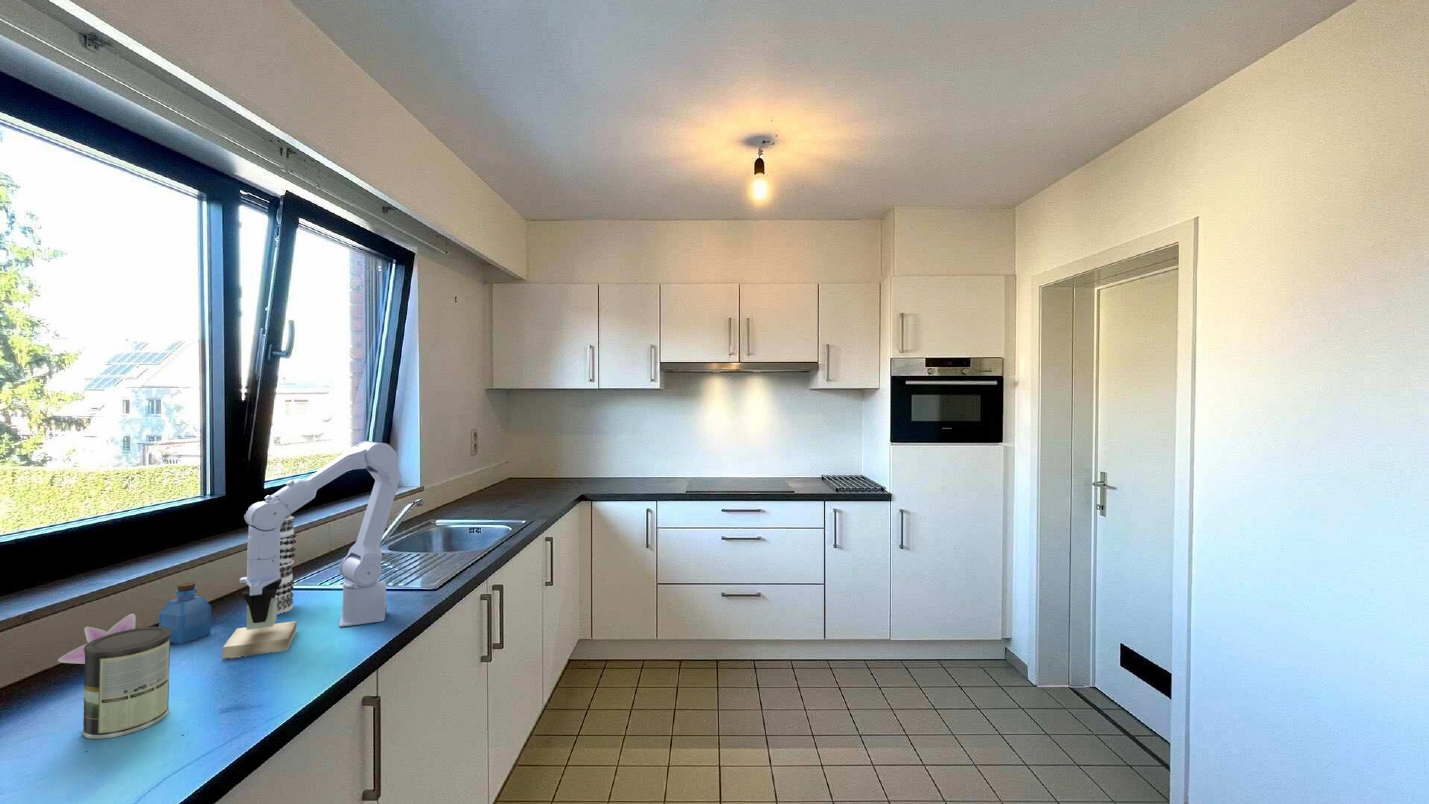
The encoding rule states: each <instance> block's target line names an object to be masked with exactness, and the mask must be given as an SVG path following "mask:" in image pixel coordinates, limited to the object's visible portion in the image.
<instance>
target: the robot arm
mask: <svg viewBox="0 0 1429 804" xmlns="http://www.w3.org/2000/svg"><path fill="white" fill-rule="evenodd" d="M397 460H398V453H397V452H396V451H395V450H394V448H393V447H392V446H391V445H390V444H388V443H385V442H376V441H375V442H374V441H372V440H363V441H361V442H359V443H357V444H356V445H355V446H352V447H350V448H348V449H347V450H345V451H344V452H342V454H340V455H339V456H338V457H336V458H334V459H333V460H332V461H330V462H329V463H328V464H326V465H325V466H322V468H320V469H319V470H318V471H316V472H314V473H313V474H312V475H311V476H309V477H308V478H296V479H294V480H292V479H290V480H288V481H286V482H285V486H283V487H282V488H280V489H279V490H277V491H276V492H274V493H272V494H271V495H269V494H268V495H266V496H265V497H264V500H262V501H257V502H255V503H252V504H251V505H250V506H249V507H248V510H246V513H245V514H244V515H243V518H244V520H245V522H246V524H247V525H248V536H247V546H246V547H247V548H246V549H247V553H246V554H247V556H246V557H247V558H246V576H242V577H240V578H239V583H240V584H241V583H244V584H246V585H247V586H248V587H249V590H243V592H242V598H243V599H244V600H245V602H246V604H247V606H249V609H250V613H251V617H252V620H253V623H260V622H265V621H266V619H267V615H268V610H269V605H270V602H271V599H272V598H275V595H276V592H277V590H278V587H279V585H280V584H281V582H282V579H280V575H281V574H280V573H279V570H280V526H281V525H282V524H283V522H284V520H285V517H286V516H288V515H291V514H293V513H294V512H296V511H297V510H299V509H300V508H302V507H303V506H304V505H306V504H308V503H310V502H311V501H312V500H313V499H315V498H316V495H317V491H318V490H319V489H322V487H324V486H326V485H327V484H329V483H330V482H332V481H334V480H335V479H337V478H339V477H340V476H341V475H344V474H345V473H347V472H348V471H351V470H361V469H362V470H364V469H365V470H367V472H368V473H370V475H371V477H372V478H373V479H374V484H373V487H372V489H371V494H370V497H369V499H368V503H367V506H366V509H365V513H364V516H363V518H362V522H361V526H360V529H359V532H358V535H357V537H356V541H355V543H354V544H353V545H352V546H351V547H350V548H349V550H348V553H347V555H346V556H345V557H344V559H343V560H342V561H341V563H340V565H339V573H340V574H341V576H343V578H344V581H343V584H342V615H341V618H340V620H339V622H338V623H339V624H338V627H339V628H341V627H343V628H344V627H351V626H357V625H358V626H359V625H365V624H372V623H373V624H374V623H380V622H384V621H385V619H386V612H387V611H388V603H386V602H387V601H386V600H387V597H386V596H387V581H384V580H381V581H380V580H379V579H380V577H381V575H382V571H383V570H382V559H383V554H382V553H383V552H382V550H381V544H382V540H383V536H384V535H385V534H384V533H385V529H386V527H387V523H388V520H389V517H390V513H391V510H392V508H393V504H394V500H395V497H396V494H397V490H398V487H399V485H400V482H401V481H400V480H401V473H400V468H399V463H398V461H397Z"/></svg>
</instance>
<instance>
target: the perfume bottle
mask: <svg viewBox="0 0 1429 804" xmlns="http://www.w3.org/2000/svg"><path fill="white" fill-rule="evenodd" d="M196 584H197V582H195V581H189V582H182V583H178V584H177V585H176V587H177V590H176V591H175V596H176V597H177V598H174V599H171V600H168V602H167V603H166V604H165V605H164V606H163V608H162V609H161V611H160V612H159V618H158V620H159V622H158V623H159V624H158V627H166V628H169V629H170V630H171V636H170V642H174V643H173V644H177V643H179V644H178V645H183V644H185V643H187V642H186V641H188V642H190V640H191V641H193V640H195V639H194V638H196V639H199V638H201V636H202V635H204V636H207V635H209V634H208V633H210V634H211V629H212V624H211V623H212V606H211V605H210V603H209V602H208V601H207V600H206V599H205V598H204V596H198V595H195V594H196V593H197V589H198V588H197V587H196ZM206 634H207V635H206ZM198 637H199V638H198ZM202 637H203V636H202ZM192 639H193V640H192ZM184 642H185V643H184Z"/></svg>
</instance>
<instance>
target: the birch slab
mask: <svg viewBox="0 0 1429 804" xmlns="http://www.w3.org/2000/svg"><path fill="white" fill-rule="evenodd" d="M297 626H298V625H297V620H296V621H295V620H294V621H288V622H287V621H286V622H285V621H284V622H278V623H274V625H273V626H272V627H265V628H257V629H250V630H247V626H246V627H245V626H244V627H238V628H236V629H235V631H234V632H233V633H232V635H231V636H230V637H229V639H227V641H226V643H224V645H223V647H222V659H223V660H225V659H224V658H230V659H236V657H237V658H242V657H241V656H244V657H247V656H246V655H251V656H257V654H258V655H264V653H265V654H271V652H272V653H278V652H285V651H288V649H289V647H290V645H291V643H292V641H293V640H294V638H295V636H296V634H297Z"/></svg>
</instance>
